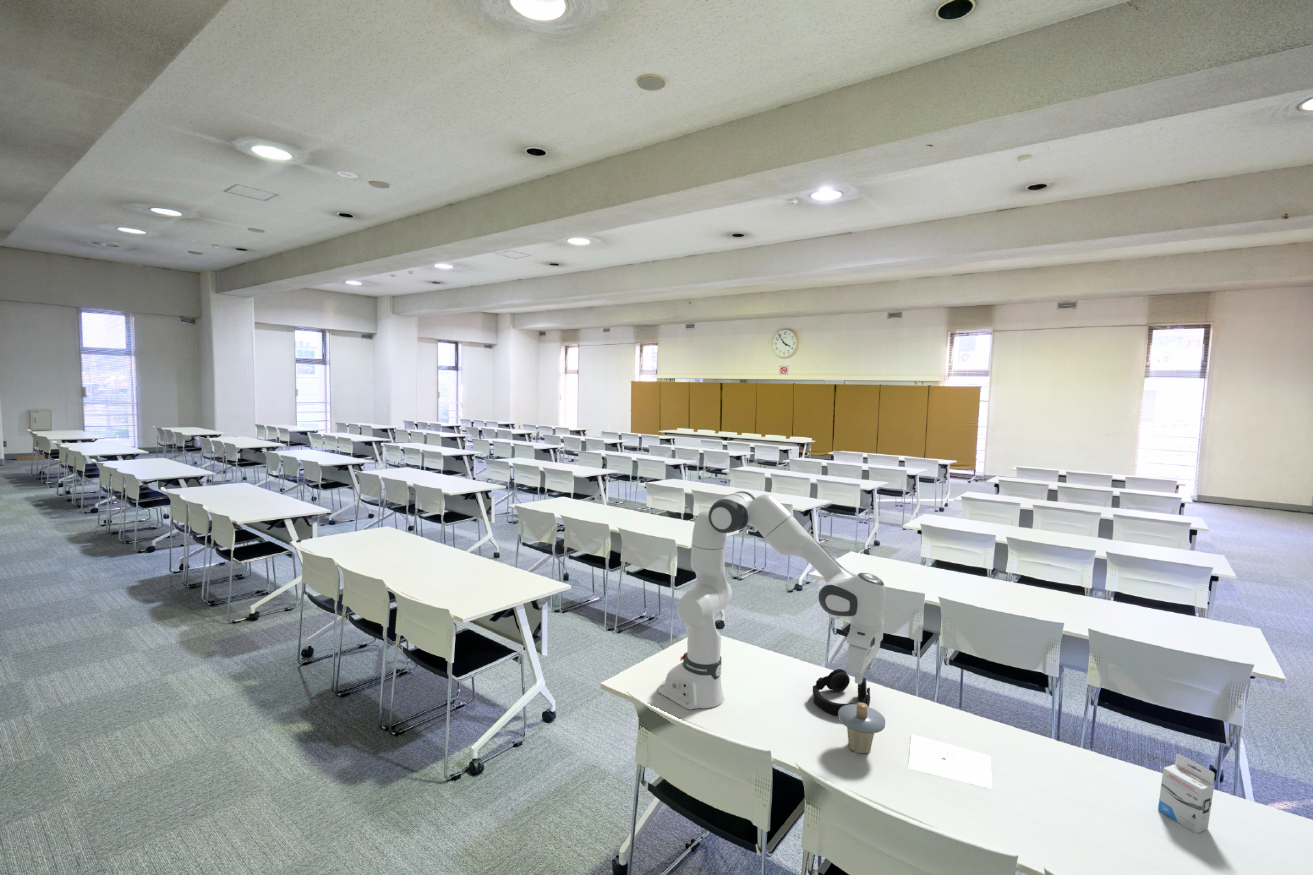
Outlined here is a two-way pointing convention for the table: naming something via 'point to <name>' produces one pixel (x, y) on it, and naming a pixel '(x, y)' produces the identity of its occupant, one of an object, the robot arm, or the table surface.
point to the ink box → (1187, 794)
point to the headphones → (837, 683)
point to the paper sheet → (950, 761)
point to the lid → (861, 718)
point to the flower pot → (859, 741)
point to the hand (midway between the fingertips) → (863, 675)
